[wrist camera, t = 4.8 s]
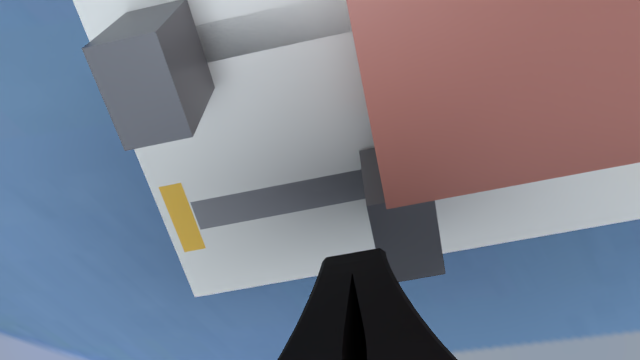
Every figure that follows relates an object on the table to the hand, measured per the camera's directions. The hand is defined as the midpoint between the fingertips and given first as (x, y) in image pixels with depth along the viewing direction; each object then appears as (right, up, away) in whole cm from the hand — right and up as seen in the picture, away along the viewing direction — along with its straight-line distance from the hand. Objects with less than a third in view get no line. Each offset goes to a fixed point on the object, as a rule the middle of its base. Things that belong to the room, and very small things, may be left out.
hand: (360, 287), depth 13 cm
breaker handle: (+1, +2, +4) cm, 5 cm away
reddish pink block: (+3, +7, +1) cm, 8 cm away
